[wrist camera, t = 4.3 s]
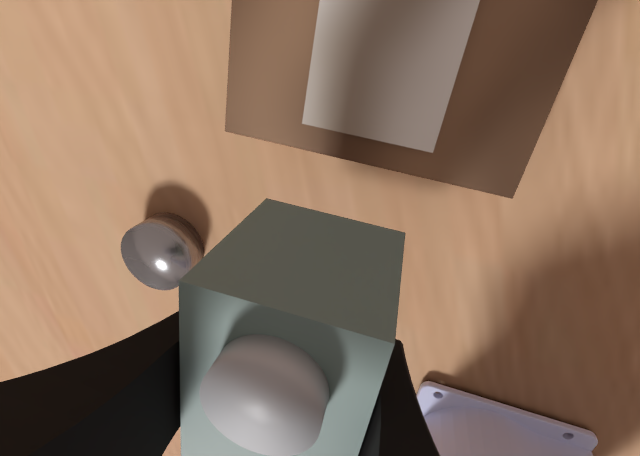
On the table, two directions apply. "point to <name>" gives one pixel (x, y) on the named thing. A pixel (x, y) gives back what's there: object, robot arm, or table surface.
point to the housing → (287, 334)
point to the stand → (404, 81)
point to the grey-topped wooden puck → (161, 250)
